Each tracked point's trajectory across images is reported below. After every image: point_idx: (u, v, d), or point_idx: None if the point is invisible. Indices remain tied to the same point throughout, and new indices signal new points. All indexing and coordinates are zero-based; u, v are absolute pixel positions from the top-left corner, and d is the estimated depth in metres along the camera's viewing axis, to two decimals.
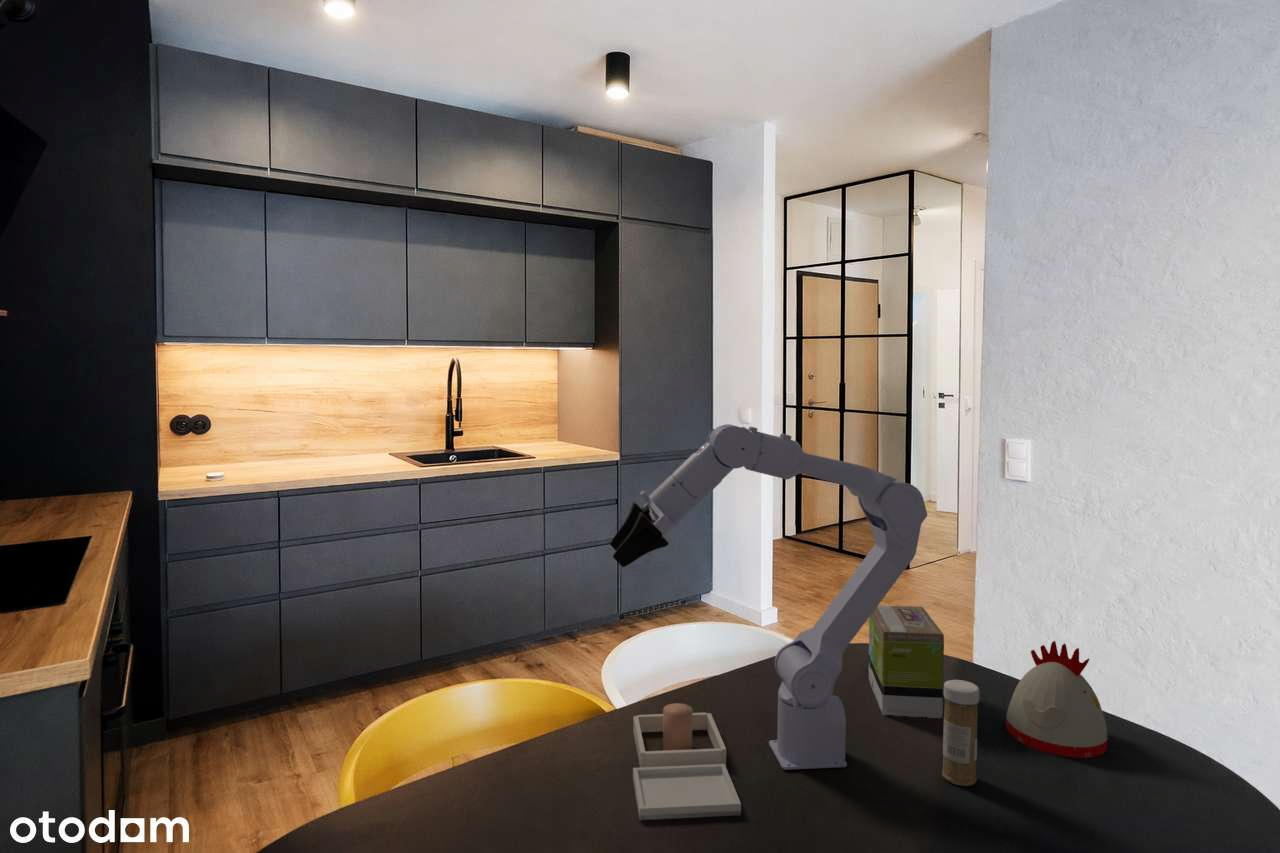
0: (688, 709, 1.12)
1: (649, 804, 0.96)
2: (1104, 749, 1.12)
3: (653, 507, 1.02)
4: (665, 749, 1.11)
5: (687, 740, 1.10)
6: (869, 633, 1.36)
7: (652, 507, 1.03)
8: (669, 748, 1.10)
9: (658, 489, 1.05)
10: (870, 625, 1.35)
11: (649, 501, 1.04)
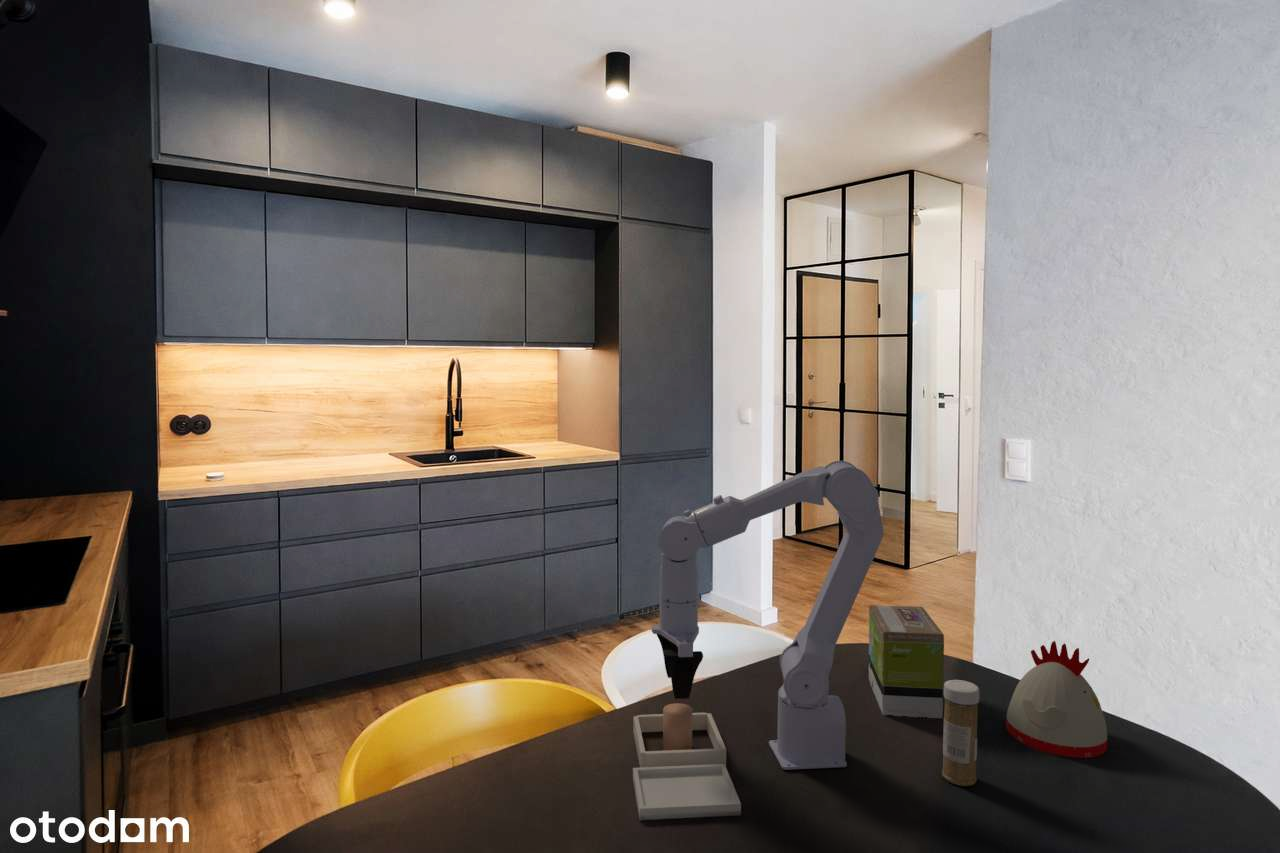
0: (688, 709, 1.12)
1: (649, 804, 0.96)
2: (1104, 749, 1.12)
3: (668, 638, 1.07)
4: (665, 749, 1.11)
5: (687, 740, 1.10)
6: (869, 633, 1.36)
7: (668, 638, 1.08)
8: (669, 748, 1.10)
9: (661, 617, 1.10)
10: (870, 625, 1.35)
11: (662, 633, 1.09)
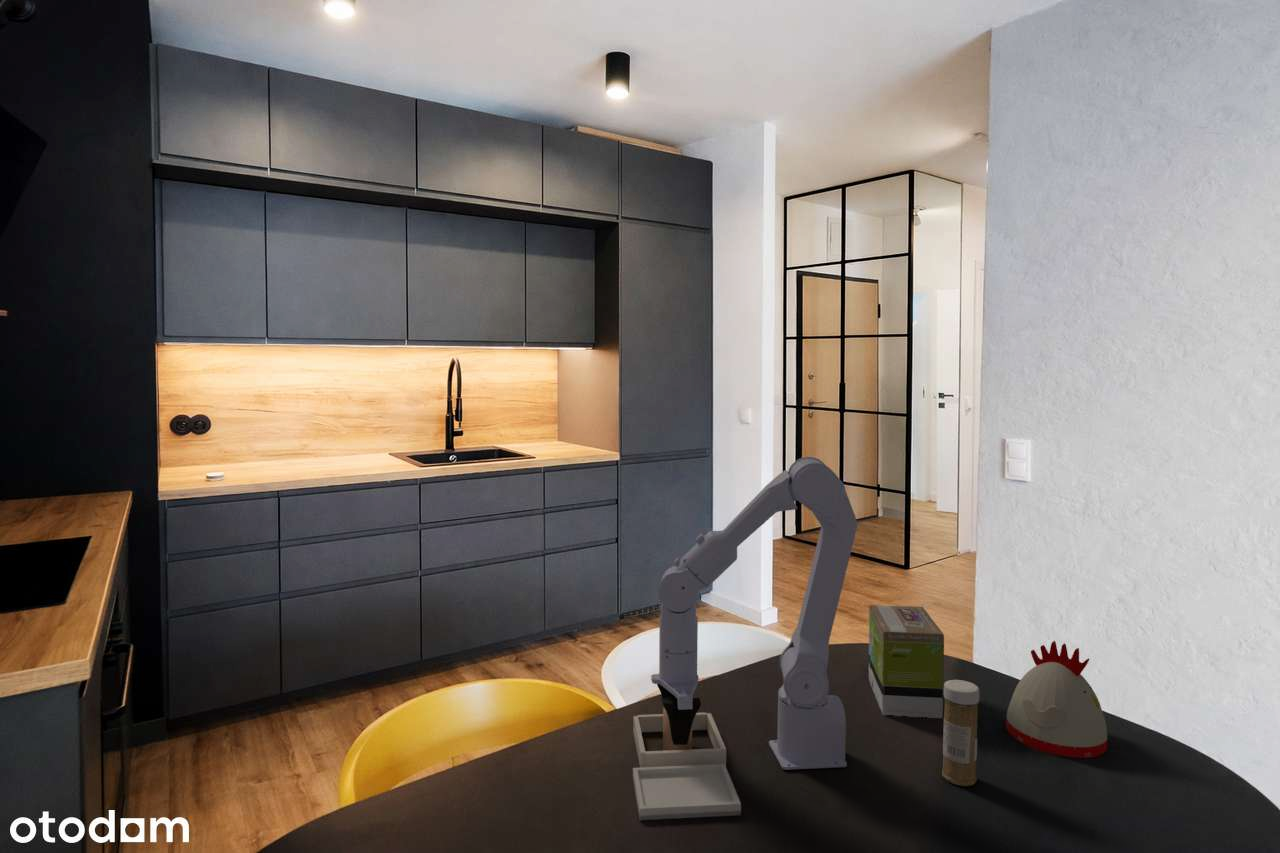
0: None
1: (649, 804, 0.96)
2: (1104, 749, 1.12)
3: (668, 689, 1.08)
4: (665, 749, 1.11)
5: None
6: (869, 633, 1.36)
7: (667, 689, 1.08)
8: (669, 748, 1.10)
9: (660, 667, 1.11)
10: (870, 625, 1.35)
11: (662, 683, 1.10)
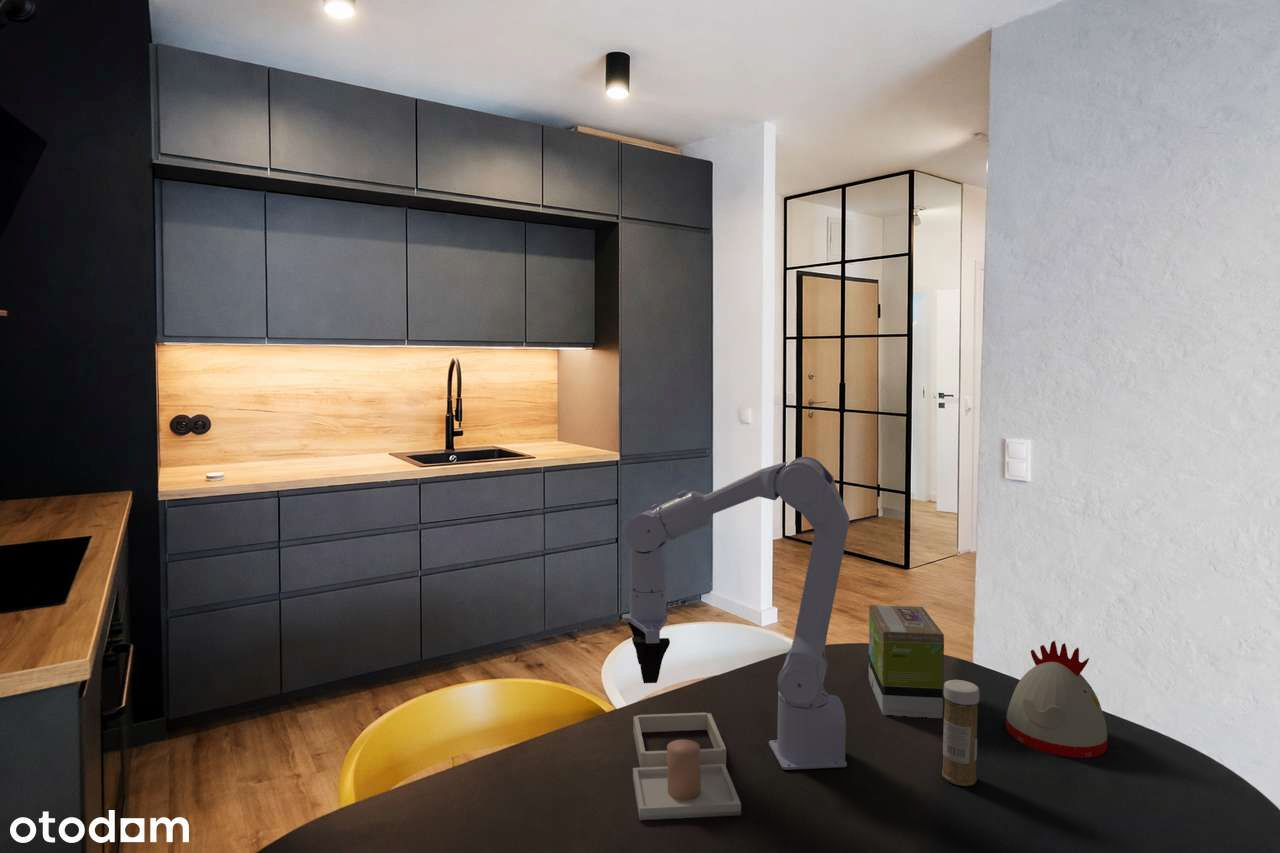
0: (695, 746, 0.99)
1: (649, 804, 0.96)
2: (1105, 748, 1.12)
3: (637, 625, 1.13)
4: (671, 793, 0.98)
5: (696, 781, 0.97)
6: (869, 633, 1.36)
7: (636, 626, 1.13)
8: (675, 792, 0.97)
9: (630, 606, 1.16)
10: (870, 625, 1.35)
11: (632, 621, 1.15)
